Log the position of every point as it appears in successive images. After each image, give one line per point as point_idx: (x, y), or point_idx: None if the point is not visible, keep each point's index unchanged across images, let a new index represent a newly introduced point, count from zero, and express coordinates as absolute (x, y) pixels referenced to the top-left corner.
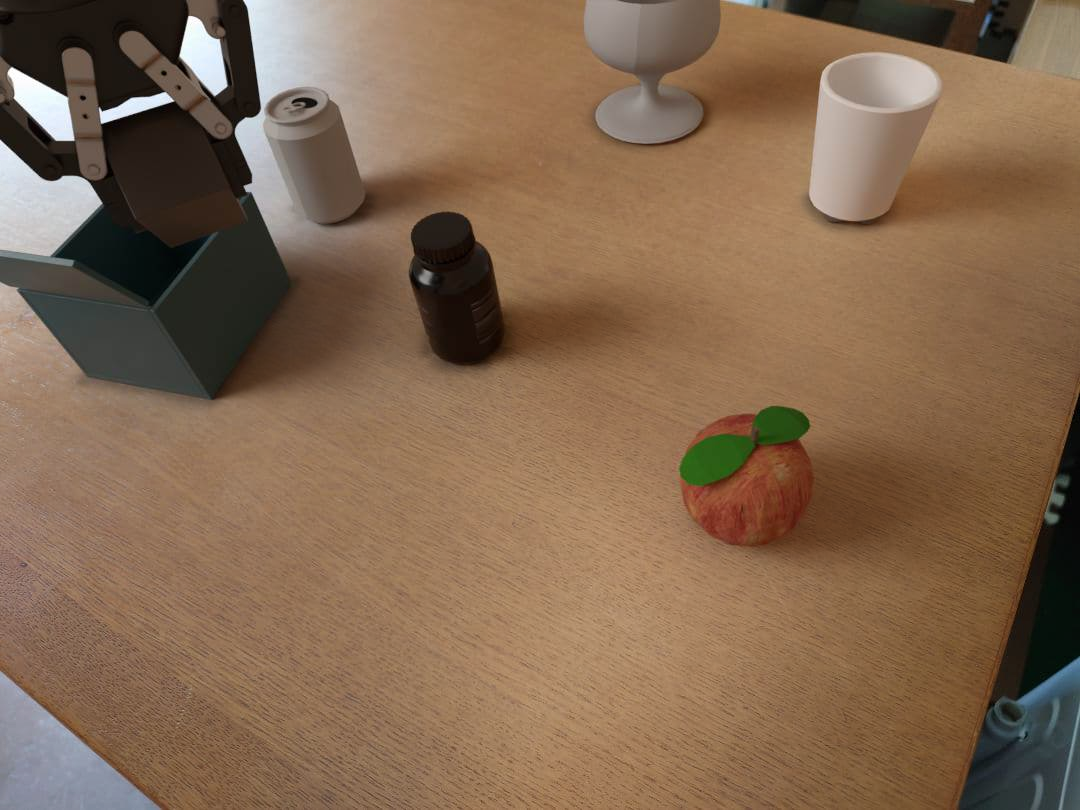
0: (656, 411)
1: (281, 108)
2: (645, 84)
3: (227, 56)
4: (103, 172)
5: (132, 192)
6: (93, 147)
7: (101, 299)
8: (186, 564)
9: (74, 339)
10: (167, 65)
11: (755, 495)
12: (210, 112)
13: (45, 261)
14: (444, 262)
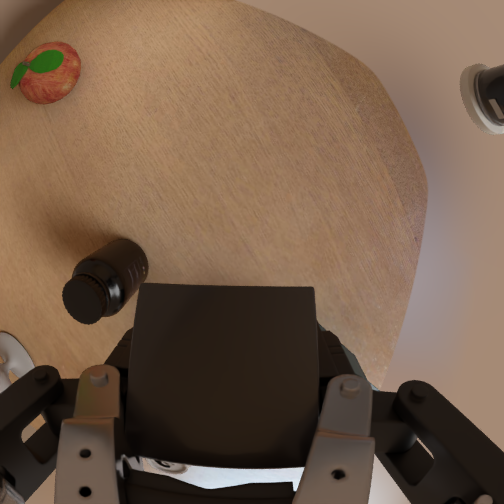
0: (61, 152)
1: (177, 466)
2: (6, 366)
3: (8, 447)
4: (335, 381)
5: (301, 331)
6: (339, 419)
7: None
8: (344, 185)
9: (357, 370)
10: (64, 497)
11: (49, 44)
12: (89, 400)
13: (376, 389)
14: (90, 277)
